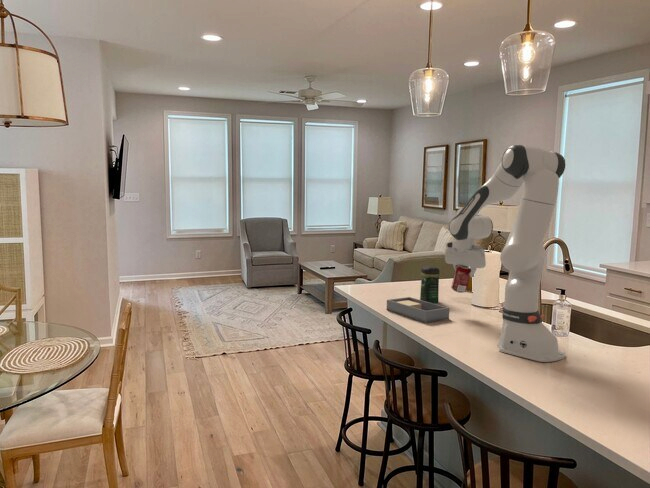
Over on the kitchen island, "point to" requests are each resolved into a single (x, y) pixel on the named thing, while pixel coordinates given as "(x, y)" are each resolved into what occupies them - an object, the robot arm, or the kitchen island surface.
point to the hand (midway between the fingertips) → (464, 276)
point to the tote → (419, 310)
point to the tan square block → (411, 304)
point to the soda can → (461, 279)
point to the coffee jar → (429, 284)
